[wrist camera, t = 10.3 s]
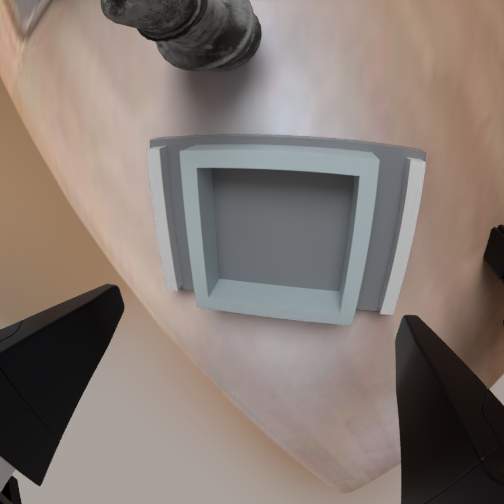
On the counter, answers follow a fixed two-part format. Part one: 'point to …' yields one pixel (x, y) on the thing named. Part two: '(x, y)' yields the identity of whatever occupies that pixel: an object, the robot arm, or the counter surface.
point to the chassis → (285, 222)
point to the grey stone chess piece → (193, 30)
